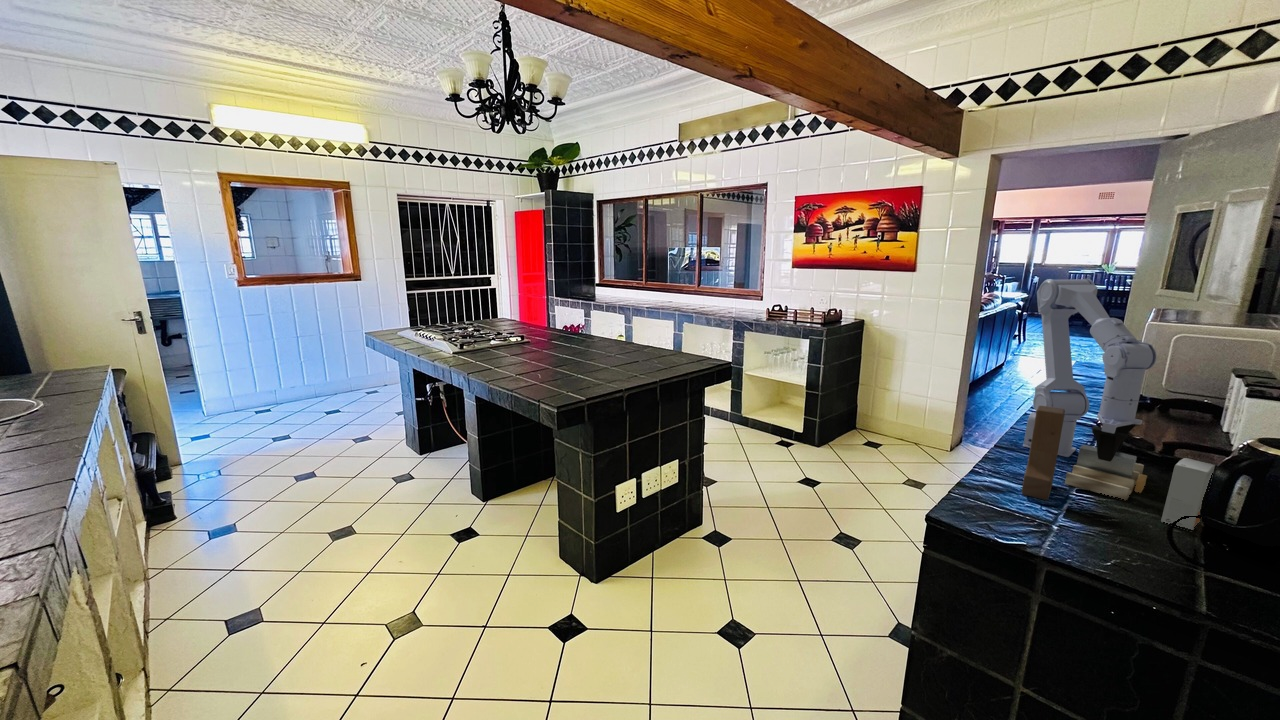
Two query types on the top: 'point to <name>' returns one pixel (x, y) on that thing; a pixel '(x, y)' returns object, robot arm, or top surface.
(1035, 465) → the wooden block
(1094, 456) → the panel
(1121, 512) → the top surface
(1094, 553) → the top surface
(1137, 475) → the rack
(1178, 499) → the skincare box
